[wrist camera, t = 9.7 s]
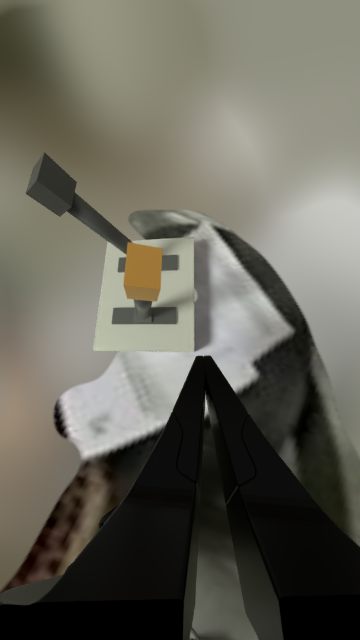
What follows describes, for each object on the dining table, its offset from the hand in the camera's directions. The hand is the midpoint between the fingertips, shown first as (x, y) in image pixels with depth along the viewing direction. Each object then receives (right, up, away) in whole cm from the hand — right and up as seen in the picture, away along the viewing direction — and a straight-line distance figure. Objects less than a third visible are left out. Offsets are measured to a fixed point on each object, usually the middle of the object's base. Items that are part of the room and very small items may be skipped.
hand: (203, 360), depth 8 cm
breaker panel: (-6, +6, +14) cm, 16 cm away
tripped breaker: (-6, +3, +10) cm, 12 cm away
